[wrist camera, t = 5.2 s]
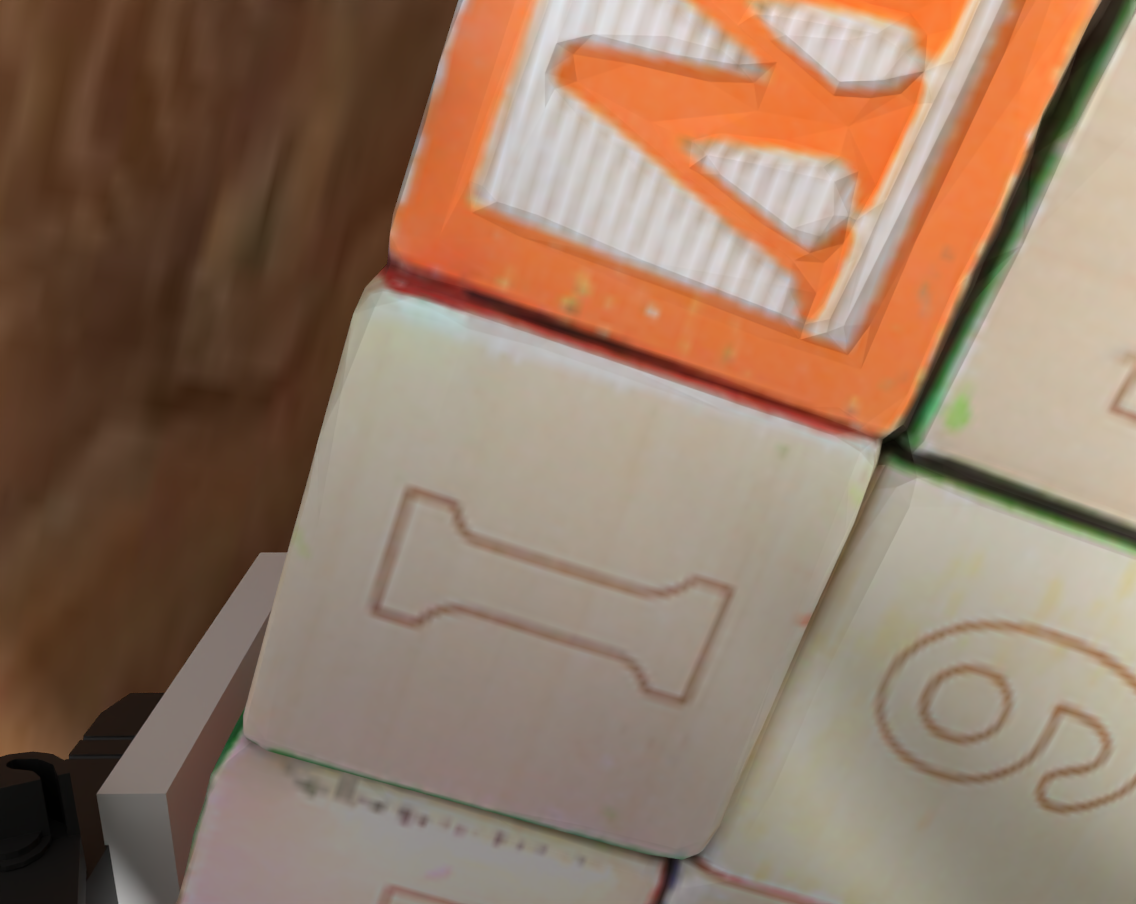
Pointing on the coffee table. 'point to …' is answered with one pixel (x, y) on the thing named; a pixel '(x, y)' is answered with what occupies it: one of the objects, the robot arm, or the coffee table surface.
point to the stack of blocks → (722, 478)
